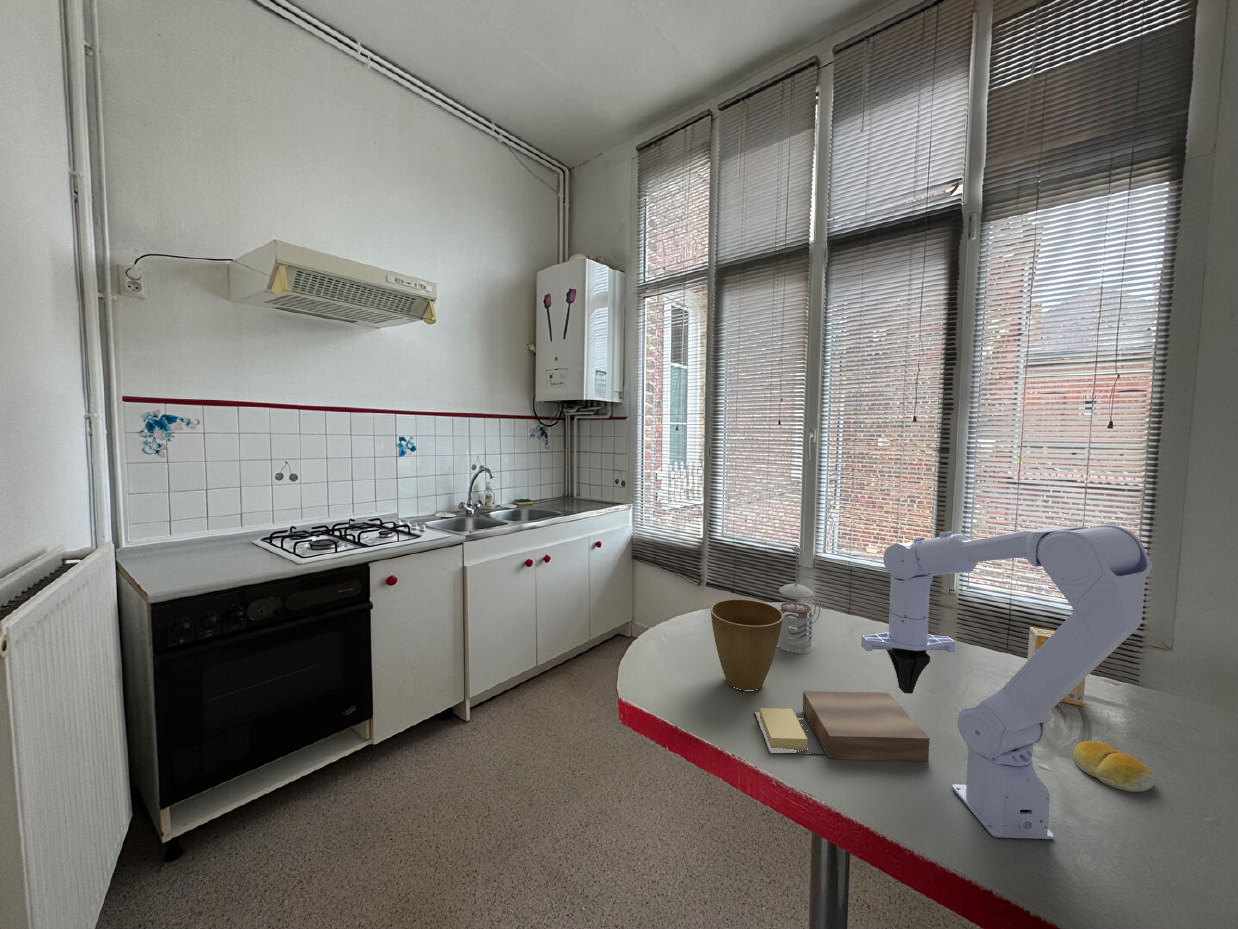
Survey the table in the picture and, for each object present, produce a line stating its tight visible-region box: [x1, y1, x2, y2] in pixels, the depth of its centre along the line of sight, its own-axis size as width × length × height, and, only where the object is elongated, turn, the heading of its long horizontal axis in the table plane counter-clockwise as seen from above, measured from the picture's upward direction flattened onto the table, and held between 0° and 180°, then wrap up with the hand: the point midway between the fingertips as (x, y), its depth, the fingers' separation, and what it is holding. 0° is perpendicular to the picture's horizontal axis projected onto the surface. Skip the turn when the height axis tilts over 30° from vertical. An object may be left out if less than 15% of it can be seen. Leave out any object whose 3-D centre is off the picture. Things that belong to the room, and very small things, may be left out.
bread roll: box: [1072, 740, 1155, 793], centre depth 80 cm, size 8×9×4 cm
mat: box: [795, 711, 825, 755], centre depth 91 cm, size 12×9×1 cm
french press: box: [778, 546, 821, 654], centre depth 126 cm, size 10×12×25 cm
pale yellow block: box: [759, 707, 807, 750], centre depth 90 cm, size 9×6×2 cm, turn 177°
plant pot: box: [710, 598, 784, 690], centre depth 107 cm, size 15×15×16 cm
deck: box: [802, 690, 930, 762], centre depth 90 cm, size 14×16×4 cm
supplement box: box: [1026, 626, 1086, 707], centre depth 101 cm, size 8×5×13 cm, turn 62°
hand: (905, 690), depth 86 cm, fingers closed
